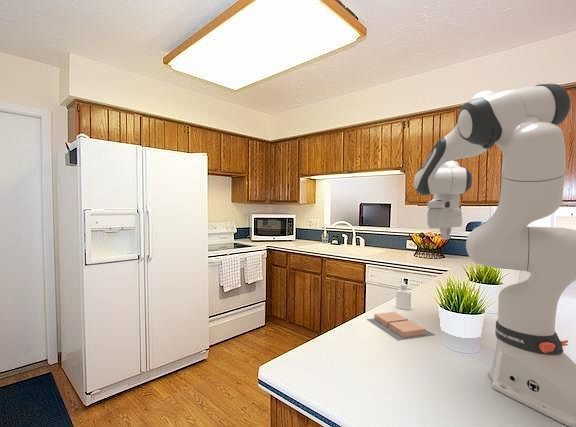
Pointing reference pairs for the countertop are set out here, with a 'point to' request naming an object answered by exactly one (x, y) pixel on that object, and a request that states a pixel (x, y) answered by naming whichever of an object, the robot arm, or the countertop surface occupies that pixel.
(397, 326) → the tile
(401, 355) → the countertop surface
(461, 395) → the countertop surface
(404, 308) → the eye dropper bottle
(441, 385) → the countertop surface
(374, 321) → the mat
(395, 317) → the tile
